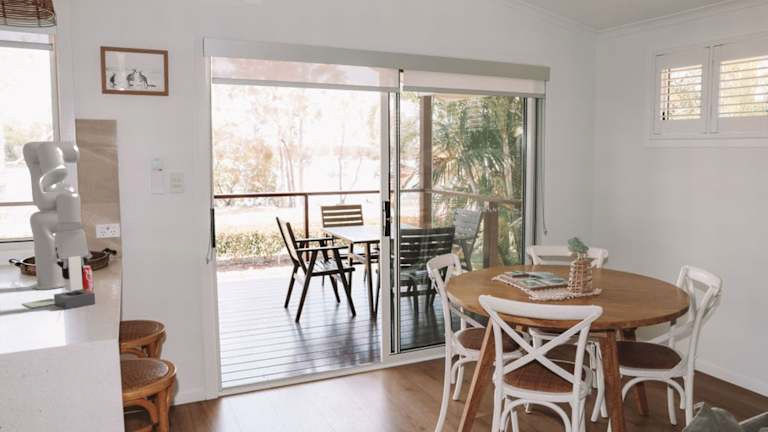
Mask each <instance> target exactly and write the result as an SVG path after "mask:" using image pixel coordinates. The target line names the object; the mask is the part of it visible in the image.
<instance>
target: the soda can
mask: <svg viewBox="0 0 768 432" xmlns="http://www.w3.org/2000/svg"><path fill="white" fill-rule="evenodd" d="M82 275H83V277H82V287H83V289H81V290H86V291H89V292H92V293H94V276H93V269H92V267H91V265H89V264H84V266H83V274H82ZM75 291H77V290H75Z"/></svg>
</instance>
